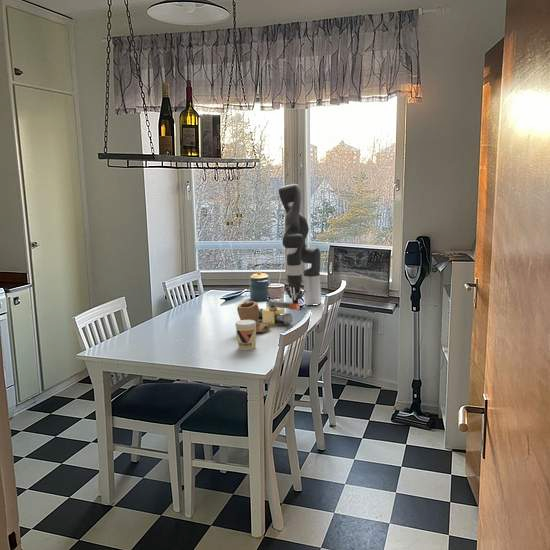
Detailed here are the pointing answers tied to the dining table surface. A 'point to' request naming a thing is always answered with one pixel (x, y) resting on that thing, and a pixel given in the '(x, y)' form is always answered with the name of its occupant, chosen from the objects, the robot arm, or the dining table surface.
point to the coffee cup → (246, 334)
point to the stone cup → (252, 315)
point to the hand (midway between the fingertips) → (295, 306)
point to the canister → (259, 286)
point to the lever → (284, 304)
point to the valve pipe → (274, 316)
